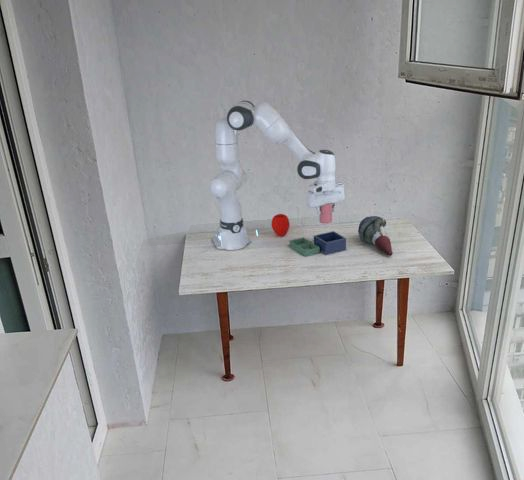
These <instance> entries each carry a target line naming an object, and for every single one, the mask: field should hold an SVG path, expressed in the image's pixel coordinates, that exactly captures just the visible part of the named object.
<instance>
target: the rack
mask: <svg viewBox="0 0 524 480" xmlns="http://www.w3.org/2000/svg"><path fill="white" fill-rule="evenodd" d="M289 247H291V248H292V249H294V250H295V251H296V252H298V253H299V254H301V255H302V256H304V257H308V256H312V255H317V254H320V253H321V251H320V247H318V246H316V245H315V244H314V242H312V241H311V240H309V239H307V238H305V237H300V238H299V237H298V238H295V239H290V240H289Z"/></svg>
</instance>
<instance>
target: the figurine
mask: <svg viewBox="0 0 524 480" xmlns="http://www.w3.org/2000/svg"><path fill="white" fill-rule="evenodd" d="M386 226H387V220H386V219H385V218H384V217H381V216H378V215H371V216H365V217H364V218H363V219H362V220H361V221H360V222H359V223H358V229H357V233H358V237H359V240H360V241H361V242H362V243H363V244H373V245H374V247H376V249H378V251H380V252H381V253H383V254H385V255H386V256H389V257H391V256H392V255H393V254H394V251H393V249H392V243H391V240H390V238H389V237H390V236H389V231H388V230H387V229H386Z"/></svg>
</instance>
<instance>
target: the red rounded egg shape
mask: <svg viewBox="0 0 524 480" xmlns="http://www.w3.org/2000/svg"><path fill="white" fill-rule="evenodd" d="M270 225H271V229H272V231H273V232H274V234H275V235H276V236H277V237H280V238H281V237H285V236H286V235H287V234H288V232H289V230H290V219H289V217H288V215H286V214H284V213H278V214H275V215H274V216H273V217H272V219H271V224H270Z"/></svg>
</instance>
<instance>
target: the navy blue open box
mask: <svg viewBox="0 0 524 480" xmlns="http://www.w3.org/2000/svg"><path fill="white" fill-rule="evenodd" d="M313 244H315V245H316V246H318V247H320V253H322V254H323V255H325V256H326V255H331V254H335V253H339V252H343V251H347V237H345V236H343V235H341V234H340V233H338V232H336V231H334V230H332V231H329V232H323V233H319V234H315V235H313Z"/></svg>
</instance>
